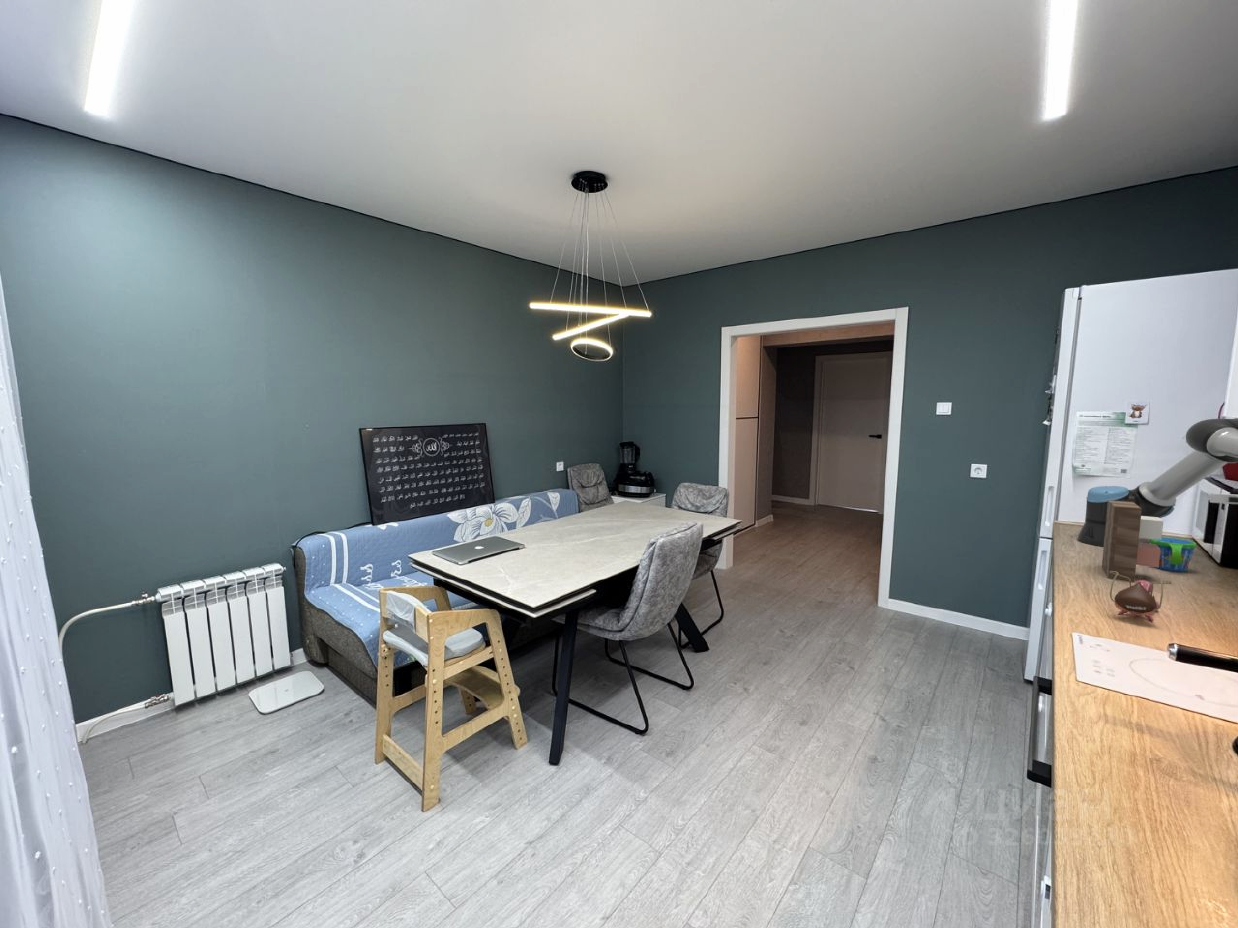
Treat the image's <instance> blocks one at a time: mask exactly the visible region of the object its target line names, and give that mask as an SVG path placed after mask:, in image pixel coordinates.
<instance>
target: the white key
mask: <svg viewBox="0 0 1238 928" xmlns="http://www.w3.org/2000/svg"><path fill="white" fill-rule="evenodd" d="M1163 529H1164V520H1162V518H1158V517H1148V516H1141V521H1140V531H1139V539H1140V538H1141V539H1148V540H1150V539H1158V540H1162V537H1163Z"/></svg>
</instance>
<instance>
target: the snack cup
mask: <svg viewBox="0 0 1238 928" xmlns="http://www.w3.org/2000/svg"><path fill="white" fill-rule="evenodd" d="M1149 544H1156V545H1157V546H1158V547H1159V548H1160V559H1159V567H1156V568H1157V569H1160V570H1163V571H1170V572H1177V573H1180V572H1182V573H1183V572H1184V573H1185V572H1186V571H1187V569H1189V565H1190V562H1191V559H1192V556H1193V552H1194V550H1195V549H1196V547H1197V543H1196V542H1194V541H1191V540H1187V539H1182V538H1174V537H1164V536H1162V540H1158V539H1149Z"/></svg>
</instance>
